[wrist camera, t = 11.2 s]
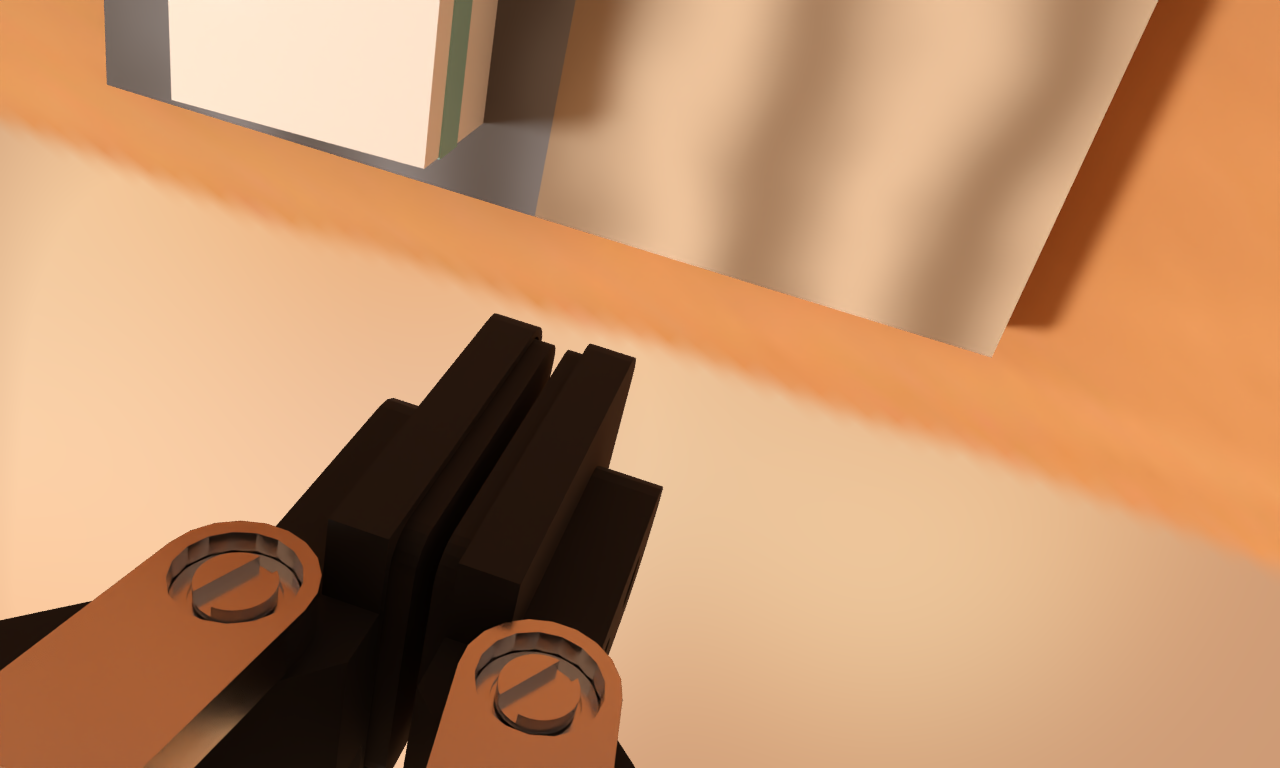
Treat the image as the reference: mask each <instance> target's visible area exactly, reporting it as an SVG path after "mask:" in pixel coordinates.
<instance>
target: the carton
mask: <svg viewBox="0 0 1280 768" xmlns="http://www.w3.org/2000/svg"><path fill="white" fill-rule="evenodd" d="M497 5H498V0H168V10H169V39H170V69H171V98H172V100H174V101H178V102H181V103H185V104H188V105H192V106H196V107H199V108H203V109H207V110H210V111H214V112H218V113H221V114H225V115H229V116H232V117H236V118H240V119H243V120H247V121H251V122H254V123H258V124H262V125H265V126H269V127H273V128H276V129H280V130H284V131H287V132H291V133H295V134H298V135H302V136H306V137H309V138H313V139H317V140H320V141H324V142H327V143H331V144H335V145H338V146H342V147H346V148H349V149H353V150H357V151H360V152H364V153H368V154H371V155H375V156H379V157H382V158H386V159H390V160H393V161H397V162H401V163H404V164H408V165H412V166H415V167H419V168H423V169H425V168H426V167H427V166H428V165H430V164H431V163H432V162H434V161H435V160H436V159H439V160H440V159H442V158H443V157H444V156H445V155H447V154H448V153H449V152H450V151H452V150H453V149H454V148H456V147H457V143H458V142H460V141H461V140H462V139H463V138H465V137H466V136H467V135H469V134H470V133H471V132H472V131H474V130H475V129H476V128H478V127H479V126H480V125H481V124H483V121H484V112H485V104H486V96H487V87H488V79H489V71H490V63H491V54H492V46H493V38H494V29H495V21H496V13H497Z"/></svg>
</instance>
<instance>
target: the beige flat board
mask: <svg viewBox="0 0 1280 768" xmlns="http://www.w3.org/2000/svg"><path fill="white" fill-rule="evenodd" d="M1157 2H1158V0H498V5H497V13H496V21H495V29H494V38H493V46H492V54H491V63H490V71H489V79H488V87H487V96H486V104H485V112H484V121H483V124H481V125H480V126H479V127H478V128H476V129H475V130H474V131H472V132H471V133H470V134H469V135H467V136H466V137H465V138H463V139H462V140H461V141H460V142H458V143H457V147H456V148H454V149H453V150H452V151H450V152H449V153H448V154H447V155H445V156H444V157H443V158H442V159H440V160H439V159H436V160H435V161H434V162H432V163H431V164H430V165H428V166H427V167H426V168H425V169H423V168H419V167H415V166H412V165H408V164H404V163H401V162H397V161H393V160H390V159H386V158H382V157H379V156H375V155H371V154H368V153H364V152H360V151H357V150H353V149H349V148H346V147H342V146H338V145H335V144H331V143H327V142H324V141H320V140H317V139H313V138H309V137H306V136H302V135H298V134H295V133H291V132H287V131H284V130H280V129H276V128H273V127H269V126H265V125H262V124H258V123H254V122H251V121H247V120H243V119H240V118H236V117H232V116H229V115H225V114H221V113H218V112H214V111H210V110H207V109H203V108H199V107H196V106H192V105H188V104H185V103H181V102H178V101H174V100H172V98H171V69H170V39H169V10H168V0H104V13H105V42H106V70H107V85H110V86H113V87H117V88H120V89H123V90H126V91H130V92H133V93H136V94H139V95H142V96H146V97H149V98H152V99H155V100H159V101H162V102H165V103H168V104H172V105H175V106H178V107H181V108H185V109H188V110H191V111H194V112H198V113H201V114H204V115H207V116H211V117H214V118H217V119H220V120H223V121H227V122H230V123H233V124H236V125H240V126H243V127H246V128H249V129H253V130H256V131H259V132H262V133H266V134H269V135H272V136H275V137H279V138H282V139H285V140H288V141H292V142H295V143H298V144H301V145H304V146H308V147H311V148H314V149H317V150H321V151H324V152H327V153H330V154H334V155H337V156H340V157H343V158H347V159H350V160H353V161H356V162H360V163H363V164H366V165H369V166H373V167H376V168H379V169H382V170H386V171H389V172H392V173H395V174H398V175H402V176H405V177H408V178H411V179H415V180H418V181H421V182H424V183H428V184H431V185H434V186H437V187H441V188H444V189H447V190H450V191H454V192H457V193H460V194H463V195H467V196H470V197H473V198H476V199H479V200H483V201H486V202H489V203H492V204H496V205H499V206H502V207H505V208H509V209H512V210H515V211H518V212H522V213H525V214H528V215H531V216H535V217H538V218H541V219H544V220H548V221H551V222H554V223H557V224H561V225H564V226H567V227H570V228H573V229H577V230H580V231H583V232H586V233H590V234H593V235H596V236H599V237H603V238H606V239H609V240H612V241H616V242H619V243H622V244H625V245H629V246H632V247H635V248H638V249H642V250H645V251H648V252H651V253H654V254H658V255H661V256H664V257H667V258H671V259H674V260H677V261H680V262H684V263H687V264H690V265H693V266H697V267H700V268H703V269H706V270H710V271H713V272H716V273H719V274H723V275H726V276H729V277H732V278H735V279H739V280H742V281H745V282H748V283H752V284H755V285H758V286H761V287H765V288H768V289H771V290H774V291H778V292H781V293H784V294H787V295H791V296H794V297H797V298H800V299H804V300H807V301H810V302H813V303H817V304H820V305H823V306H826V307H829V308H833V309H836V310H839V311H842V312H846V313H849V314H852V315H855V316H859V317H862V318H865V319H868V320H872V321H875V322H878V323H881V324H885V325H888V326H891V327H894V328H898V329H901V330H904V331H907V332H910V333H914V334H917V335H920V336H923V337H927V338H930V339H933V340H936V341H940V342H943V343H946V344H949V345H953V346H956V347H959V348H962V349H966V350H969V351H972V352H975V353H979V354H982V355H985V356H988V357H992V356H993V354H994V351H995V349H996V347H997V345H998V343H999V341H1000V339H1001V336H1002V334H1003V332H1004V330H1005V328H1006V326H1007V324H1008V321H1009V319H1010V317H1011V315H1012V313H1013V311H1014V309H1015V306H1016V304H1017V302H1018V300H1019V298H1020V296H1021V294H1022V291H1023V289H1024V287H1025V285H1026V283H1027V281H1028V279H1029V276H1030V274H1031V272H1032V270H1033V268H1034V266H1035V264H1036V261H1037V259H1038V257H1039V255H1040V253H1041V251H1042V249H1043V246H1044V244H1045V242H1046V240H1047V238H1048V236H1049V233H1050V231H1051V229H1052V227H1053V225H1054V223H1055V221H1056V218H1057V216H1058V214H1059V212H1060V210H1061V208H1062V206H1063V203H1064V201H1065V199H1066V197H1067V195H1068V193H1069V191H1070V188H1071V186H1072V184H1073V182H1074V180H1075V178H1076V176H1077V173H1078V171H1079V169H1080V167H1081V165H1082V163H1083V161H1084V158H1085V156H1086V154H1087V152H1088V150H1089V148H1090V146H1091V143H1092V141H1093V139H1094V137H1095V135H1096V133H1097V131H1098V128H1099V126H1100V124H1101V122H1102V120H1103V118H1104V116H1105V113H1106V111H1107V109H1108V107H1109V105H1110V103H1111V101H1112V98H1113V96H1114V94H1115V92H1116V90H1117V88H1118V86H1119V83H1120V81H1121V79H1122V77H1123V75H1124V73H1125V71H1126V68H1127V66H1128V64H1129V62H1130V60H1131V58H1132V56H1133V53H1134V51H1135V49H1136V47H1137V45H1138V43H1139V41H1140V38H1141V36H1142V34H1143V32H1144V30H1145V28H1146V25H1147V23H1148V21H1149V19H1150V17H1151V15H1152V13H1153V10H1154V8H1155V6H1156V4H1157Z"/></svg>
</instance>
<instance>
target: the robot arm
mask: <svg viewBox="0 0 1280 768" xmlns="http://www.w3.org/2000/svg"><path fill="white" fill-rule="evenodd" d="M541 340H542V329H541V328H540V327H537V326H534V325H531V324H528V323H525V322H522V321H518V320H515V319H512V318H509V317H506V316H503V315H499V314H493V315H492V316H491V317H490V318H489V320H488V321H487V322H486V323H485V325H484V326H483V327H482V328H481V329H480V331H479V332H478V333H477V334H476V336H475V337H474V338H473V340H472V341H471V342H470V343H469V344H468V346H467V347H466V348H465V349H464V351H463V352H462V353H461V354H460V356H459V357H458V358H457V359H456V360H455V362H454V363H453V364H452V365H451V367H450V368H449V369H448V370H447V372H446V373H445V374H444V375H443V377H442V378H441V379H440V380H439V382H438V383H437V384H436V385H435V387H434V388H433V389H432V390H431V392H430V393H429V394H428V395H427V397H426V398H425V399H424V400H423V401H422V403H421V404H420V405H419V406H416V405H413V404H410V403H407V402H404V401H401V400H398V399H395V398H391V399H387V400H386V401H385V402H384V403H383V404H382V405H381V406H380V407H379V408H378V409H377V410H376V411H375V412H374V414H373V415H372V416H371V417H370V418H369V419H368V421H367V422H366V423H365V424H364V425H363V426H362V427H361V429H360V430H359V431H358V432H357V433H356V434H355V436H354V437H353V438H352V439H351V440H350V441H349V442H348V444H347V445H346V446H345V447H344V448H343V449H342V451H341V452H340V453H339V454H338V455H337V456H336V458H335V459H334V460H333V461H332V462H331V463H330V465H329V466H328V467H327V468H326V469H325V470H324V471H323V472H322V474H321V475H320V476H319V477H318V478H317V479H316V481H315V482H314V483H313V484H312V485H311V486H310V487H309V489H308V490H307V491H306V492H305V493H304V494H303V496H302V497H301V498H300V499H299V500H298V501H297V502H296V504H295V505H294V506H293V507H292V508H291V509H290V511H289V512H288V513H287V514H286V515H285V516H284V518H283V519H282V520H281V521H280V522H279V523H278V524H277V526H276V527H275V526H272V525H269V524H265V523H257V522H248V521H232V522H222V523H214V524H211V525H207V526H204V527H200V528H197V529H194V530H190V531H189V532H187V533H185V534H183V535H182V536H180V537H178V538H176V539H175V540H173V541H171V542H169V543H168V544H167V545H165V546H164V547H163V548H161V549H160V550H159V551H158V552H156V553H155V554H154V555H152V556H151V557H150V558H148V559H147V560H146V561H144V562H143V563H142V564H140V565H139V566H138V567H136V568H135V569H134V570H133V571H131V572H130V573H128V574H127V575H126V576H125V577H123V578H122V579H121V580H119V581H118V582H117V583H116V584H114V585H113V586H111V587H110V588H109V589H107V590H106V591H105V592H103V593H102V594H101V595H100V596H98V597H97V598H96V599H94V600H93V601H90V602H85V603H81V604H76V605H71V606H66V607H61V608H57V609H52V610H47V611H42V612H38V613H33V614H29V615H24V616H19V617H14V618H10V619H5V620H0V768H393V767H394V765H395V763H396V762H397V760H398V758H399V756H400V754H401V752H402V751H403V749H404V747H405V745H406V743H407V741H408V743H407V749H406V755H405V761H404V767H403V768H635V767H634V765H633V764H632V762H631V760H630V759H629V757H628V756H627V754H626V753H625V751H624V749H623V748H622V746H621V745H620V743H619V742H618V731H619V724H620V716H621V707H622V685H621V678H620V676H619V674H618V672H617V669H616V668H615V665H614V663H613V661H612V659H611V658H610V657H609V656H608V655H609V652H610V649H611V646H612V644H613V641H614V638H615V635H616V633H617V629H618V627H619V624H620V622H621V619H622V616H623V613H624V611H625V608H626V605H627V602H628V599H629V596H630V593H631V590H632V587H633V584H634V581H635V578H636V575H637V572H638V569H639V566H640V563H641V560H642V557H643V554H644V550H645V547H646V544H647V540H648V537H649V534H650V531H651V528H652V524H653V521H654V517H655V514H656V511H657V508H658V504H659V501H660V497H661V493H662V490H663V487H662V486H659V485H656V484H653V483H650V482H647V481H644V480H641V479H638V478H635V477H632V476H629V475H626V474H623V473H620V472H617V471H614V470H611V469H608V468H609V464H610V460H611V457H612V453H613V449H614V445H615V441H616V437H617V434H618V429H619V426H620V422H621V418H622V415H623V411H624V407H625V403H626V399H627V396H628V392H629V388H630V384H631V380H632V376H633V372H634V368H635V363H636V358H634V357H631V356H628V355H625V354H622V353H618V352H615V351H612V350H609V349H606V348H603V347H600V346H596V345H593V344H589V345H588V346H587V348H586V349H585V351H584V353H583V354H580V353H577V352H574V351H570V350H568V351H567V352H566V353H565V354H564V356H563V358H562V359H561V361H560V362H559V364H558V366H557V367H556V369H555V371H554V372H553V374H552V375H551V371H552V366H553V361H554V356H555V345H552V344H549V343H546V342H542V341H541ZM550 375H551V377H550Z"/></svg>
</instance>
